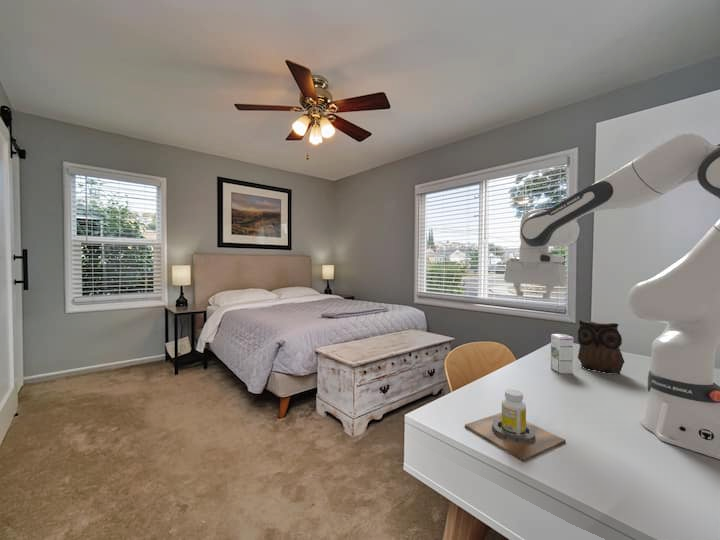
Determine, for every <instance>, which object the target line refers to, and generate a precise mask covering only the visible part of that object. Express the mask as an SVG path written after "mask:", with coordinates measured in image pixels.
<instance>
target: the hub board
mask: <svg viewBox="0 0 720 540" xmlns="http://www.w3.org/2000/svg"><path fill="white" fill-rule="evenodd" d="M464 427H465V428H466V429H467V430H470V431H471V432H473V433H474V434H476V435H478V436H479V437H480V438H483V439H484V440H486V441H488V442H489V443H491V444H493V445H494V446H496V447H498V448H499V449H501V450H502V451H504V452H506V453H508V454H509V455H511V454H512V455H511V456H513V457H514V456H515V457H514V458H516V459H518V460H520V461H521V462H523V463H524V462H525V463H526V462H527V461H530V460H531V459H533V458H535V457H538V456H539V455H541V454H544V453H546V452H548V451H550V450H552V449H554V448H556V447H560V445H562V444H565V443H566V439H565V438H562V437H560V436H558V435H556V434H554V433H552V432H551V431H548V430H546V429H544V428H541V427H539V426H537V425H535V424H533V423H530V422H528V421H527V420H526V434H525V436H516V435H512V434H508V433H506V432H504V431H503V430H502V412H499V413H496V414H493V415H490V416H487V417H484V418H481V419H478V420H474V421H472V422H468V423H466V424H464Z"/></svg>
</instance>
